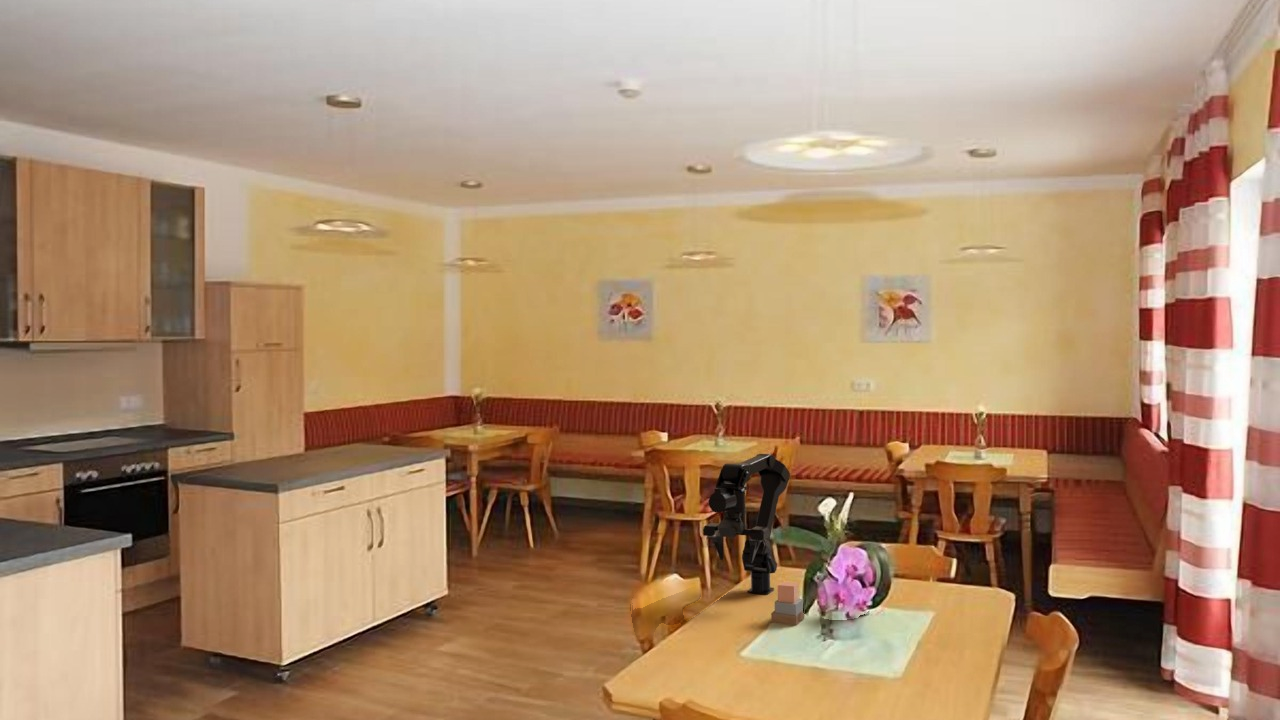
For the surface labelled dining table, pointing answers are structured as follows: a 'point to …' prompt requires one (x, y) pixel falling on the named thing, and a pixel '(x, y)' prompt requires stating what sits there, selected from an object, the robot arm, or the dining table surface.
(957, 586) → the dining table surface
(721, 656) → the dining table surface
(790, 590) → the terracotta cube
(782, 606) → the slate block
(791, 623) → the walnut block
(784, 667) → the dining table surface
